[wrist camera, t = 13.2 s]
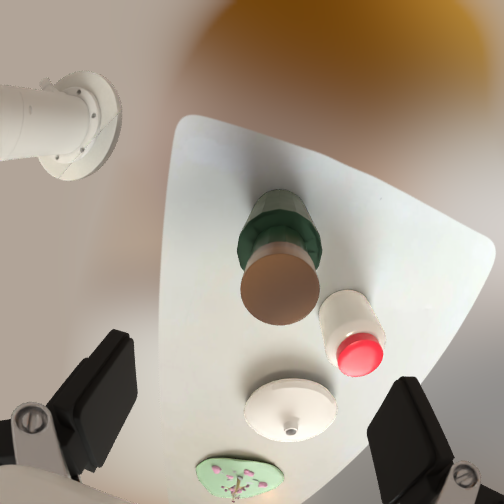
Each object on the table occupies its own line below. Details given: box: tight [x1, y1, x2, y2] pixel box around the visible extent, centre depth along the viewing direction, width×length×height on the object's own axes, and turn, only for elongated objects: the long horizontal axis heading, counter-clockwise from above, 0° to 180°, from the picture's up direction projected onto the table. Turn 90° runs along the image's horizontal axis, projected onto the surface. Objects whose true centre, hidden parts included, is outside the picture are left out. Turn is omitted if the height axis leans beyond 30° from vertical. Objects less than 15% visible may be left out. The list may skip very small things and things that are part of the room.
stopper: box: [240, 242, 320, 325], centre depth 21 cm, size 5×5×7 cm
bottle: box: [237, 190, 322, 271], centre depth 29 cm, size 7×7×20 cm
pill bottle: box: [319, 290, 386, 377], centre depth 37 cm, size 8×8×11 cm
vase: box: [244, 378, 338, 442], centre depth 45 cm, size 16×16×7 cm
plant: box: [196, 458, 284, 502], centre depth 54 cm, size 25×21×9 cm
